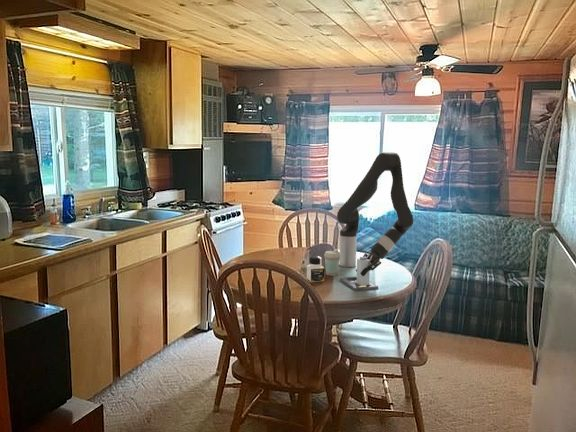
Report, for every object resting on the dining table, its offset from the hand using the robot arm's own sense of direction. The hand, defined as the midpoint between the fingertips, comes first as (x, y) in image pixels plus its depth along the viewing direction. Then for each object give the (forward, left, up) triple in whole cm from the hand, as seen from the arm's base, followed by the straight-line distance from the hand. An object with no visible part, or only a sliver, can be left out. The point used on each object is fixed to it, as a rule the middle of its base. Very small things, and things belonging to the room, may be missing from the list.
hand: (359, 273), depth 228 cm
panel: (-5, +2, -7) cm, 9 cm away
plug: (0, +2, -5) cm, 6 cm away
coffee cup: (-26, -3, -7) cm, 27 cm away
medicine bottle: (-19, -15, -7) cm, 25 cm away
